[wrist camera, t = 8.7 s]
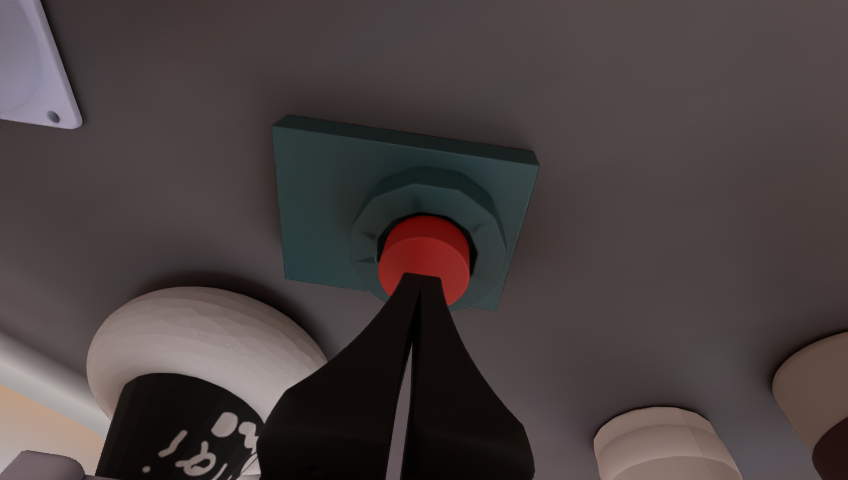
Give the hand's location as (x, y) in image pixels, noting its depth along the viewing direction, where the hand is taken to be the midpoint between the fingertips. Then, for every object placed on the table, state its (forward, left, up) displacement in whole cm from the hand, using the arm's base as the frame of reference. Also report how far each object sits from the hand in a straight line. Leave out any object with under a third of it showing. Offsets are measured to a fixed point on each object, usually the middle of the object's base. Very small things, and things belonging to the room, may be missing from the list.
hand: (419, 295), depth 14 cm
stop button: (0, 0, -3) cm, 3 cm away
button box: (-1, 0, -6) cm, 6 cm away
